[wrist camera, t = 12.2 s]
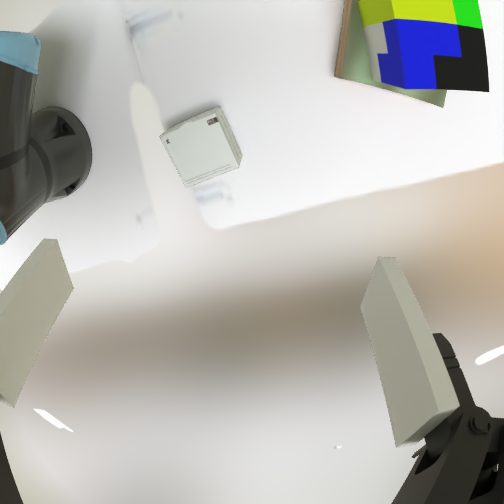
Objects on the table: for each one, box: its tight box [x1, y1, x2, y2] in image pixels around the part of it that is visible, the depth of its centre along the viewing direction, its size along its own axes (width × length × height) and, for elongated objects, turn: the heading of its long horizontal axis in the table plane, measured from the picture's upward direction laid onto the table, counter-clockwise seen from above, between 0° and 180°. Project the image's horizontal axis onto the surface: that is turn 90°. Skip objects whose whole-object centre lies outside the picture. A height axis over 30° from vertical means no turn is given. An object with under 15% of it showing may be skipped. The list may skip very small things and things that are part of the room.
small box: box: [160, 106, 242, 187], centre depth 39 cm, size 8×8×5 cm
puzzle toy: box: [358, 0, 489, 92], centre depth 23 cm, size 10×10×10 cm
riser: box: [334, 0, 447, 108], centre depth 29 cm, size 14×14×4 cm
